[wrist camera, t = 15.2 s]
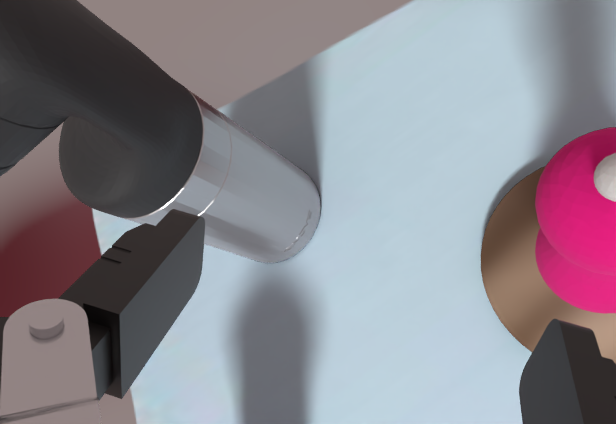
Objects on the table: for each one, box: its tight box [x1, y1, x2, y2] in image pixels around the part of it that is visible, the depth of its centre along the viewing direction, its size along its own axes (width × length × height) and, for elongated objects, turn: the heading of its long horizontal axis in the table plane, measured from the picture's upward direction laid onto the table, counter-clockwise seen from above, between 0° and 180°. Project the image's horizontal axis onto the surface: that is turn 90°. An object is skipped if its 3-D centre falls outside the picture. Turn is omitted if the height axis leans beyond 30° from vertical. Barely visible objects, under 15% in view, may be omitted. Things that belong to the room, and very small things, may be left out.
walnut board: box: [481, 166, 616, 364], centre depth 36 cm, size 15×15×1 cm
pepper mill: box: [535, 127, 616, 314], centre depth 27 cm, size 7×7×20 cm
